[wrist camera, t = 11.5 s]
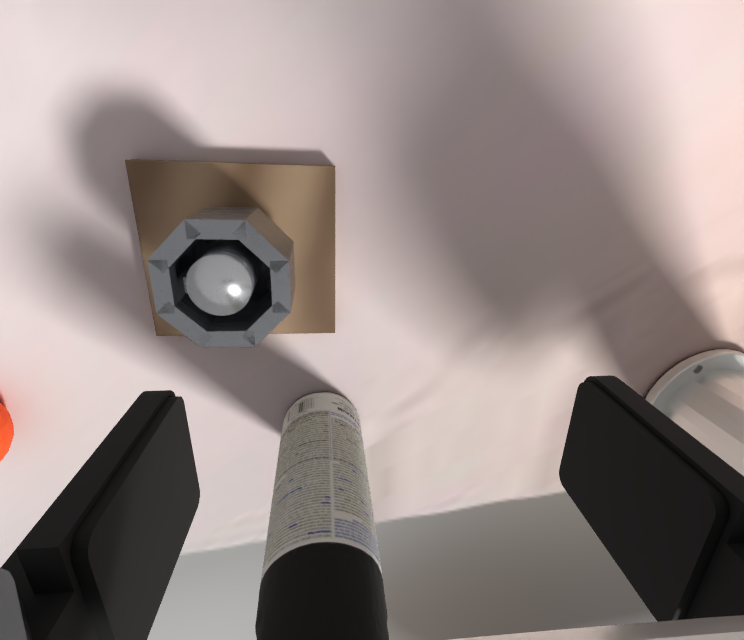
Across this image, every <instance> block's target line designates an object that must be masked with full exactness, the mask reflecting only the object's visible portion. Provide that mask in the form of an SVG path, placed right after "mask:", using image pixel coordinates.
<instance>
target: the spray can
mask: <svg viewBox="0 0 744 640" xmlns="http://www.w3.org/2000/svg"><path fill="white" fill-rule="evenodd" d="M256 636H257V640H389V635H388V629H387V609H386V603H385V595H384V587H383V579H382V571H381V564H380V557H379V549H378V542H377V536H376V529H375V522H374V516H373V509H372V502H371V496H370V488H369V482H368V475H367V467H366V460H365V454H364V447H363V440H362V433H361V426H360V420H359V416H358V414H357V412H356V409H355V408H354V406H353V405H352V404H351V403H350V402H349V401H348V400H347V399H346V398H344V397H342V396H340V395H338V394H335V393H331V392H321V393H311V394H308V395H305V396H303V397H301V398H299V399H298V400H297V401H296V402H295V403H294V404H293V405H292V406H291V407H290V409H289V410H288V412H287V414H286V416H285V418H284V421H283V426H282V433H281V440H280V447H279V455H278V462H277V469H276V476H275V483H274V490H273V497H272V505H271V512H270V519H269V526H268V533H267V541H266V548H265V556H264V563H263V570H262V577H261V585H260V592H259V602H258V610H257V619H256Z"/></svg>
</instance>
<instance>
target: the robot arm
mask: <svg viewBox="0 0 744 640" xmlns="http://www.w3.org/2000/svg"><path fill="white" fill-rule="evenodd" d="M559 476H560V481H561V483H562V485H563V487H564V488H565V490H566V491H567V493H568V494H569V496H570V497H571V498H572V500H573V501H574V503H575V504H576V506H577V507H578V509H579V510H580V511H581V513H582V514H583V516H584V517H585V519H586V520H587V521H588V523H589V524H590V526H591V527H592V529H593V530H594V532H595V533H596V534H597V536H598V537H599V539H600V540H601V542H602V543H603V544H604V546H605V547H606V549H607V550H608V551H609V553H610V554H611V556H612V557H613V559H614V560H615V562H616V563H617V565H618V566H619V567H620V569H621V570H622V571H623V573H624V574H625V576H626V577H627V579H628V580H629V582H630V583H631V584H632V586H633V588H634V589H635V590H636V592H637V593H638V595H639V596H640V598H641V599H642V600H643V602H644V603H645V605H646V606H647V608H648V609H649V610H650V612H651V613H652V615H653V616H654V617H655V618H656V620H657V621H658V622H649V623H638V624H637V623H636V624H625V625H613V626H600V627H588V628H576V629H564V630H553V631H542V632H531V633H530V632H529V633H518V634H507V635H495V636H484V637H473V638H461V639H451V640H744V353H741V352H739V351H735V350H730V349H716V350H711V351H706V352H702V353H700V354H697V355H694V356H692V357H690V358H688V359H686V360H684V361H682V362H680V363H678V364H677V365H676V366H674V367H673V368H672V369H670V370H669V371H667V372H666V373H665V374H664V375H663V376H662V377H661V378H660V379H659V380H658V381H657V382H656V384H655V385H654V386H653V387H652V389H651V390H650V391H649V393H648V395H647V396H646V398H645V399H644V398H643V397H642V396H640V395H639V394H638V393H636V392H635V391H634V390H633V389H631V388H630V387H629V386H627V385H626V384H625V383H624V382H622V381H621V380H620V379H618V378H617V377H615V376H590V377H588V378H586V380H585V381H584V383H581V384H580V385H579V387H578V390H577V394H576V398H575V403H574V407H573V412H572V416H571V420H570V425H569V429H568V434H567V438H566V443H565V447H564V451H563V456H562V460H561V465H560V469H559ZM199 498H200V489H199V483H198V478H197V472H196V466H195V461H194V455H193V450H192V444H191V439H190V433H189V428H188V422H187V416H186V411H185V405H184V401H183V399H182V397H176V396H175V394H174V392H173V391H171V390H168V391H145V392H143V393H142V394H141V395H140V396H139V397H138V398H137V399H136V401H135V402H134V403H133V404H132V406H131V407H130V408H129V409H128V411H127V412H126V413H125V414H124V416H123V417H122V418H121V419H120V421H119V422H118V423H117V424H116V426H115V427H114V428H113V429H112V431H111V432H110V433H109V434H108V435H107V437H106V438H105V439H104V440H103V442H102V443H101V444H100V445H99V447H98V448H97V449H96V450H95V452H94V453H93V454H92V455H91V457H90V458H89V459H88V460H87V462H86V463H85V464H84V465H83V466H82V468H81V469H80V470H79V471H78V473H77V474H76V475H75V476H74V478H73V479H72V480H71V481H70V483H69V484H68V485H67V486H66V488H65V489H64V490H63V491H62V493H61V494H60V495H59V496H58V498H57V499H56V500H55V501H54V502H53V504H52V505H51V506H50V507H49V509H48V510H47V511H46V512H45V514H44V515H43V516H42V517H41V519H40V520H39V521H38V522H37V524H36V525H35V526H34V527H33V529H32V530H31V531H30V532H29V534H28V535H27V536H26V537H25V538H24V540H23V541H22V542H21V543H20V545H19V546H18V547H17V548H16V550H15V551H14V552H13V553H12V555H11V556H10V557H9V558H8V560H7V561H6V562H5V563H4V565H3V566H2V567H1V568H0V640H147V638H148V635H149V632H150V630H151V627H152V625H153V622H154V619H155V616H156V614H157V611H158V609H159V606H160V604H161V601H162V599H163V596H164V593H165V591H166V588H167V586H168V583H169V580H170V577H171V575H172V573H173V570H174V567H175V565H176V562H177V560H178V557H179V554H180V552H181V549H182V547H183V544H184V541H185V539H186V536H187V534H188V531H189V528H190V526H191V523H192V521H193V518H194V515H195V513H196V510H197V508H198V504H199Z"/></svg>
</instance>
